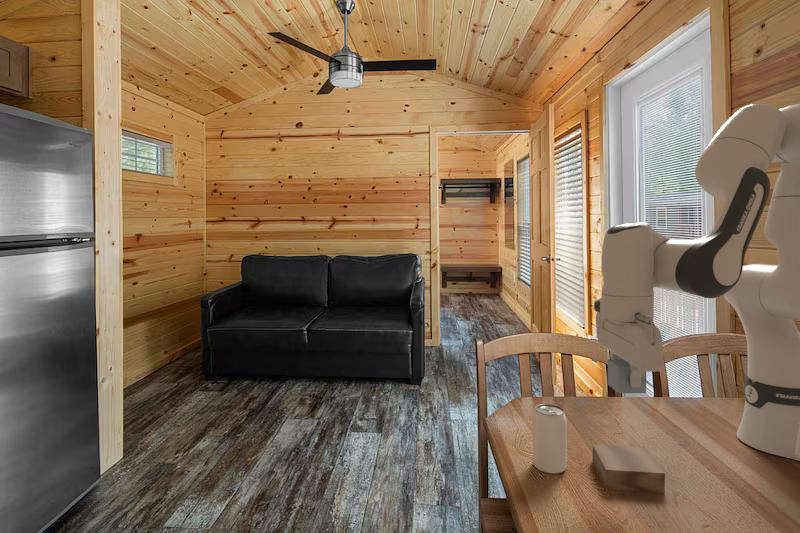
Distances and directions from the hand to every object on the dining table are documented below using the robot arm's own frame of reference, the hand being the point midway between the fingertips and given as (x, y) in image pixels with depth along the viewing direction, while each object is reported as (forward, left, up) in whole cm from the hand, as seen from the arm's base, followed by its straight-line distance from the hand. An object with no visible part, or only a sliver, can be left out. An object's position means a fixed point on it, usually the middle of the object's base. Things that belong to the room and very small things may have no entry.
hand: (626, 380), depth 86 cm
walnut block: (0, 0, -19) cm, 19 cm away
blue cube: (0, 0, -2) cm, 2 cm away
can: (+14, -3, -19) cm, 24 cm away
